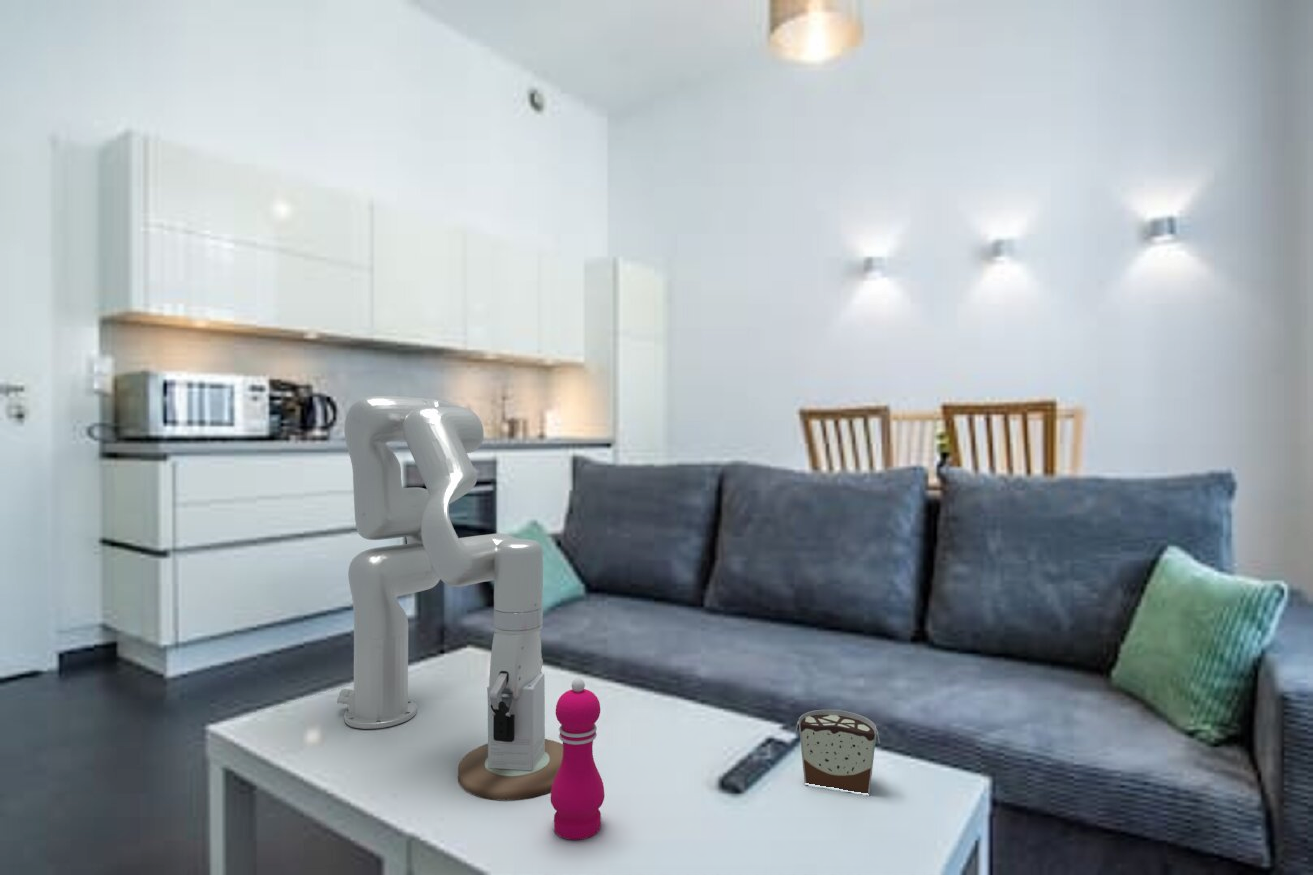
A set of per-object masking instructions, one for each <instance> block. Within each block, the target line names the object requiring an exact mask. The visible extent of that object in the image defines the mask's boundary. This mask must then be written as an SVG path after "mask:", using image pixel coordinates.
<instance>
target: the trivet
mask: <svg viewBox="0 0 1313 875" xmlns="http://www.w3.org/2000/svg"><path fill="white" fill-rule="evenodd" d="M562 758H563V743H561V742H558V741H555V740H551V739H547V738H545V751H544V753H543V755H542V756H541V758H540V760H539V761H538V763H537V764H536V766H535V768H534V769H533V770H515V769H495V768H488V743H486V744H483V745H481V746H478V747H476V748H474V749H473V750H470V751H469V752H468V753H467V754H465V755H464V756H463V757H462V758H461V760H460V761H459V764H458V767H457V780H458V784H459V786H460V787H461V788H462V789H463V790H464V791H466V792H467V793H469V794H471V795H473V796H476V797H478V798H483V799H488V800H493V801H494V800H495V801H519V800H525V799H527V800H528V799H533V798H535V797H536V798H537V797H541V796H543V795H546V794H550V793H551V789H552V785H553V782H554V779H555V777H556V774H557V772H558V770H559V768H560V765H561V762H562Z"/></svg>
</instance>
